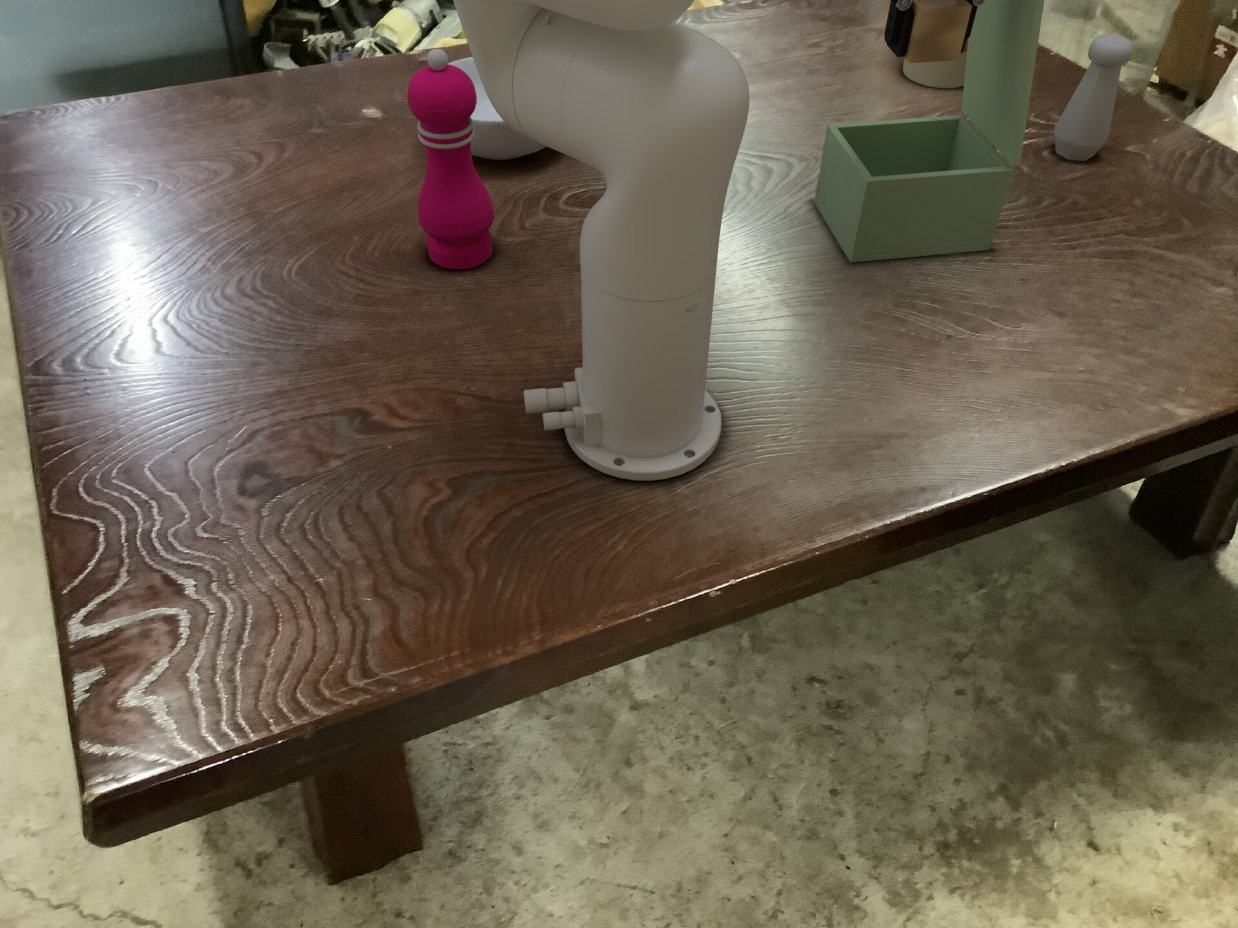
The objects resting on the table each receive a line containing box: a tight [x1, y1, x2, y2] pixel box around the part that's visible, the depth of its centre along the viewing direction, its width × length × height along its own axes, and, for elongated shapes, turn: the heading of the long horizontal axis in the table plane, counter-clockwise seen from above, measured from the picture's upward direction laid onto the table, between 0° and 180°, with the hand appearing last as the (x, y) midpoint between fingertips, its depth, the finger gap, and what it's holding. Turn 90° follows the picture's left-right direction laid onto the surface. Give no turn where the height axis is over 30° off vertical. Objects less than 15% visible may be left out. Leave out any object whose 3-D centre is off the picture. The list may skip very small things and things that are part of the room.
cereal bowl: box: [448, 56, 548, 161], centre depth 111 cm, size 17×17×7 cm
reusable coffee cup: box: [902, 39, 968, 89], centre depth 123 cm, size 13×13×15 cm
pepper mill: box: [406, 48, 495, 270], centre depth 90 cm, size 7×7×20 cm
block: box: [903, 0, 972, 63], centre depth 85 cm, size 5×5×5 cm
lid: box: [961, 0, 1045, 166], centre depth 90 cm, size 16×12×1 cm
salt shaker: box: [1053, 33, 1134, 162], centre depth 108 cm, size 6×6×13 cm
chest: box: [813, 114, 1016, 263], centre depth 98 cm, size 15×12×9 cm
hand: (924, 47), depth 87 cm, fingers closed on block, 4 cm apart
